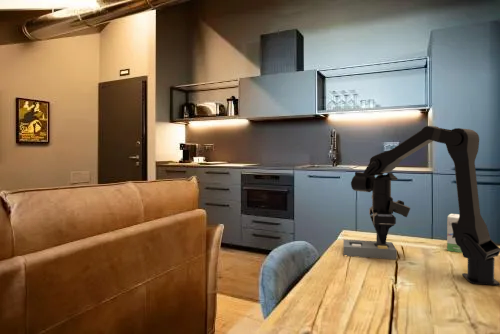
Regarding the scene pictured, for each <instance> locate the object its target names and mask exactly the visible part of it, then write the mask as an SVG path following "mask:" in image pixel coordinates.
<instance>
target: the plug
mask: <svg viewBox="0 0 500 334" xmlns="http://www.w3.org/2000/svg"><path fill="white" fill-rule="evenodd" d="M376 241H377V242H376V246H377V247H378V245H380V246H386V242H387V241H386V242H385V244H381V242H380V239H379V236H378V234H377V233H376Z"/></svg>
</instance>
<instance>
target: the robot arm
mask: <svg viewBox="0 0 500 334" xmlns="http://www.w3.org/2000/svg"><path fill="white" fill-rule="evenodd" d="M432 142H436V143H440V144H445V146H446V151H447V152H448V156H450V158H451V160H452V161H453V164H454V165H453V166H454V173H455V182H456V183H455V184H456V193H457V200H458V201H457V202H458V211H459V219H458V221H457V222H453V223H452V229H453V236H452V238H455V242H456V244H457V245H458V246H459V247H460V248H461V251H462V253H461V254H462V256H463V258H465V259H467V273H466V272H465V273H464V272H462V273H461V274H462V276H463V277H464V278H465V279H466V280H467V281H468V282H469V283H471V284H476V285H478V284H479V285H486V286H487V285H488V286H489V285H490V286H500V282H499V281H498V280H496V279H495V258H496V257H498V256H499V254H500V247H499V246H498V245H497V243H495V242H494V240H492V238H491V236H490V232H489V230H488V229H489V228H488V225H487V223H486V222H485V220H484V218H483V217H482V215H481V209H480V208H481V207H480V198H479V192H478V191H479V190H478V181H477V180H478V179H477V172H476V170H477V169H476V158H477V155H478V153H479V146H480V136H479V134H478V132H476V131H475V130H473V129H470V128H460V127H459V128H458V127H457V128H456V127H455V128H452V129H448V128H442V127H439V126H436V125H435V126H434V125H426V126H424V127H423V128H421V129H420V130H419V131H418V132H416V133H414V134H413V135H412V136H410V137H409V138H407V139H406V140H404V141H402V142H401V143H399V144H398V145H397V146H394V147H393V148H391V149H390V150H387V151H384V152H380V153H377V154H375V155H373V156H371V158H370V159H369V163H368V165H367V166H366V168H365V169H364V171H363V172H362V171H355V173H354V176H353V177H352V178H351V182H350V185H351V189H352V191H354V192H365V193H371V192H372V194H371V199H372V200H371V202H372V203H371V204H372V205H371V206H370V207H369V209H368V210H369V211H368V213H369V216H370V219H371V222H372V225H373V228H374V230H375V233H376V235H377V234H378V236H379V239H380V242H381V244H385V242H387V238H388V233H389V230H390V229H391V228H392V227H394V226H395V225H396V224H397V217H396V216H395V215H394V213H395V214H398V215H401V216H403V217H405V218H408V216H409V213H410V210H411V207H409V206H407V205H405V202H404V201H403V200H400V199H398V200H397V201H394V198H393V197H392V181H397V180H399V179H398V177H397V176H395V174H393V172H392V171H393V170H394V169H396V168H397V167H398V166H399V165H400V163H401V162H402V160H405V158H407V157H409V156H411V155H413V154H414V153H416V152H417V151H419V150H420V149H422V148H424V147H426V146H427V145H429V144H431V143H432ZM385 173H386V174H385Z"/></svg>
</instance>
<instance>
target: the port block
mask: <svg viewBox="0 0 500 334" xmlns="http://www.w3.org/2000/svg"><path fill="white" fill-rule="evenodd" d="M376 242H377V240H374V241H373V240H360V239H359V240H357V239H343V256H344V255H347V256H346V257H354V256H359V257H358V258H368V257H370V259H384V260H387V259H388V260H397V257H398V256H397V251H398V249H397V248H396V247H395V246H396V245H394V242H393V241H386V246H380V245H378V247H377V246H376Z"/></svg>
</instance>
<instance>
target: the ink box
mask: <svg viewBox="0 0 500 334" xmlns="http://www.w3.org/2000/svg"><path fill="white" fill-rule="evenodd" d="M459 215H460V214H458V213H450V214H448V215H447V217H446V218H447V219H446V220H447V223H446V226H447V227H446V229H447V230H446V232H447V233H446V237H447V238H446V240H447V241H446V251H448V252H454V251H455V253H461V252H462V251H461V248H460V247H459V246H458V245H457V244H456V242H455V238H452V236H453V229H452V223H453V222H457V221H458V219H459Z"/></svg>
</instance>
